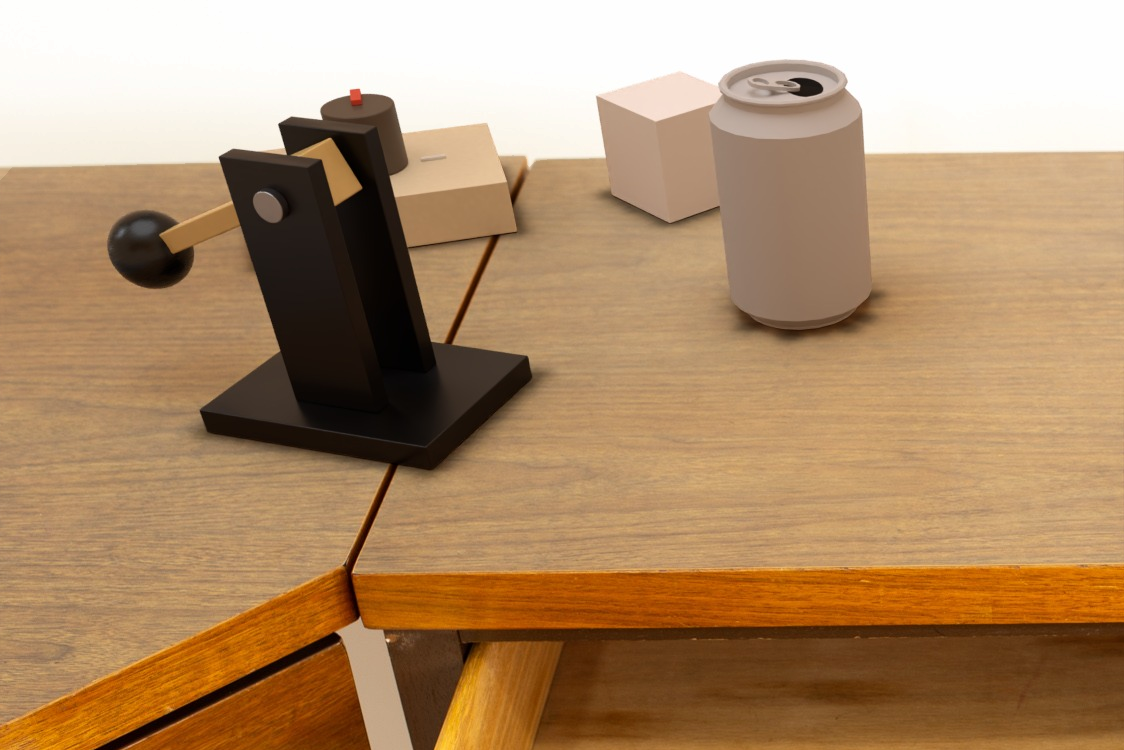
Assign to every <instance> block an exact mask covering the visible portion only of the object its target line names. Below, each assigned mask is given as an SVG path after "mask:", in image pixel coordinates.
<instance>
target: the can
mask: <svg viewBox="0 0 1124 750" xmlns="http://www.w3.org/2000/svg"><path fill="white" fill-rule="evenodd" d="M848 83H849V81H848V77H847V76H846V73H845V72H843V71H842V70H840V69H838V68H837V67H835V66H834V65H830V64H827V63H824V62H822V61H821V62H820V61H813V60H808V59H807V60H806V59H788V58H787V59H773V60H763V61H758V62H752V63H748V64H745V65H741V66H739V67H735V68H734V69H732V70H730V71H729V72H726V73H725V74H724V75H723V76H722V77H721V78H720V80H719V81H718V85H717V86H718V87H719V89H720V92H721V93H722V95H721V97H720V98H719V99H718V101H717V102H716V103H715V105H714V106H713V108H712V109H711V111H710V112H709V119H710V128H711V136H712V145H713V153H714V162H715V170H716V179H717V187H718V196H719V204H720V206H719V211H720V221H721V228H722V237H723V246H724V254H725V262H726V271H727V280H728V289H729V295H730V300H731V302H732V303H733V304H734V305H736V307H737V308H738V309H739V310H741V311H742V312H744V313H746V314H748V315H749V316H750V317H751V318H752V319H753V320H754V321H755V322H758V323H759V324H763V325H764V326H767V327H771V328H776V329H781V330H794V331H795V330H797V331H798V330H799V331H803V330H811V329H819V328H824V327H828V326H831V325H835V324H836V323H839V322H841V321H843V320H845V319H848V318H849V317H850V316H851V315H852V314H853V313H855V312H856V310H857V308H858V307H859V306H860V305H862V303H863V302H865V301H866V300H867V299H868V298H869V296H870V294H871V292H872V288H873V279H872V278H873V277H872V262H871V245H870V228H869V227H870V226H869V210H868V209H869V207H868V190H867V174H866V157H865V156H866V155H865V154H866V153H865V138H864V121H863V120H864V118H863V117H864V116H863V108H862V106H861V104H860V101H859V100H858V99H857V98H856V97H855V96H854V95H853V94H852V93H851V92H850V91H849V90H848V89H847V88H846V86H848V85H847V84H848Z"/></svg>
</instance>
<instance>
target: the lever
mask: <svg viewBox="0 0 1124 750" xmlns="http://www.w3.org/2000/svg"><path fill="white" fill-rule="evenodd" d="M291 156H299V157H308V158H316V159H322V162H323V165H324V169H325V172H326V176H327V180H328V183H329V187H330V190H331V194H332V198H333V201H334V205H335V206H337V205H338V204H340V203H341V202H343V201H344V200H346V199H348V198H349V197H351V196H352V195H354V194H355V193H357V192H358V191H360V190H362V186H361V185H360V183H359V181H358V180H357V178H356V177H355V175H354V173H353V172H352V170H351V169H350V167H349V165H348V164H347V162H346V161H345V159H344V157H343V156H342V154H341V153H340V151H339V149H338V148H337V146H336V145H335V143H334V141H333V140H332V139H331V138H328V139H326V140H324V141H321V142H319V143H317V144H315V145H312V146H310V147H308V148H306V149H303V150H301V151H299V152H297V153H294V154H292V155H291ZM239 227H241V226H240V223H239V220H238V217H237V214H236V211H235V208H234V204H233V201H232V200H231V201H228V202H226V203H223V204H222V205H219V206H217V207H214V208H211V209H209V210H208V211H205V212H203V213H200V214H198V215H196V216H194V217H191V218H189V219H187V220H184V221H182V222H180V221H178V220H176V219H175V218H174V217H172V216H171V215H168V214H167V213H164V212H162V211H158V210H155V209H154V210H153V209H138V210H133V211H130V212H127V213H126V214H124V215H122V216H121V217H119V218H118V219H117V220H116V221H115V222H114V223H113V225H112V226H111V228H110V230H109V232H108V235H107V241H106V248H107V254H108V257H109V260H110V262H111V264H112V266H113V268H114V269H115V270H116V271H117V273H119V275H120V276H121V277H123V278H124V279H125V280H127V282H129V283H131V284H133V285H135V286H137V287H140V288H144V289H147V290H148V289H149V290H162V289H163V290H164V289H168V288H170V287H173V286H176V285H178V284H179V283H181V282H182V281H183V280H185V278H187V276H188V275H189V273H190V272H191V270H192V268H193V266H194V262H195V247H194V246H197V245H198V244H201V243H204V242H206V241H208V240H210V239H213V238H215V237H218V236H220V235H222V234H225V233H227V232H230V231H232V230H234V229H236V228H237V229H238V228H239Z"/></svg>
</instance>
